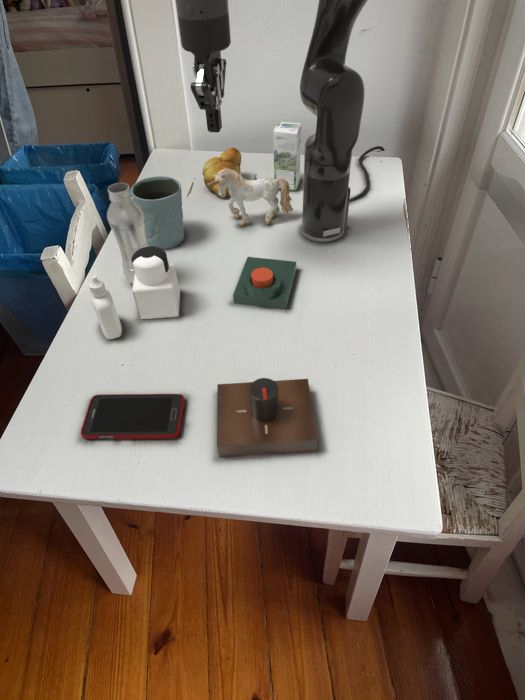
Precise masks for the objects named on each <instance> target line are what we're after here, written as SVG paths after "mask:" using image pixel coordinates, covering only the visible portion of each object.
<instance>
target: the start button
mask: <svg viewBox="0 0 525 700" xmlns="http://www.w3.org/2000/svg"><path fill="white" fill-rule="evenodd" d="M251 278H252V284H253V286H255V287H257V288H266V287H270V286H271V285H272V284H273V272H272V271H271V270H270V269H268V268H257V269H255V270H254V271H253V272H252V274H251Z"/></svg>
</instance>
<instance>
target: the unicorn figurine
mask: <svg viewBox="0 0 525 700" xmlns="http://www.w3.org/2000/svg"><path fill="white" fill-rule="evenodd" d="M212 176H213V177H215V178H216V179H215V181H213V182H211V183H208V185H213V184H216V185H217V186H218V188H219V195H218V196H219V197H221V198H225V197H226V196H225V195H226V192H225V190H226V187H227V186H228V188H229V194H230V195H229V197H230V198H229V200H228V203H227V206H228V208H229V210H230V212H231V214H232V215H233V216H234V217H235V218H236V219H240V213H241V215H242V217H241V220H240V221H239V223H238V226H240V227H244V226H245V225H246V223H247V224H250V221H249V220H250V215H249V214H248V213H247V212H246V208H245V205H244V202H256V201H258V200H260V199H264V200H265V201H266V202H267V203H268V205H269V206H270V209H269V210H268V211H267V213H266V214H264V215H265V216H264V219H265V220H264V221H265V224H266V225H269V224H270V223H271V222H272V220H271V219H272V218H274V217H275V216H276V215H278V214H279V213H280V208H281V211H283V212H284V214H286V215H288V214H289V213H290V212H293V211H294V208H293V207H292V206H293V205H291V201H293V199H292V198H291V196H290V193H291V190H290V187H289V183H288V182H287V181H286V180H285V179H283V178H278V179H274V177H262V178H258V179H253V180H249V179H246V178H244V177H243V175H242V174H241V173H240V174H239V173H237V172H235V171H234V170H230V169H228V168H225V169H223V170H221V171H219V172H218V173H217V175H212ZM279 185H280V186H281V189H279ZM279 190H280V200H279V198H278V197H277V196H278V194H279ZM234 203H236V204H237V206H238V207H234ZM279 205H280V206H281V207H280V206H279Z"/></svg>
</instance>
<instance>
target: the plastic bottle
mask: <svg viewBox="0 0 525 700" xmlns="http://www.w3.org/2000/svg"><path fill="white" fill-rule="evenodd" d="M107 193H108V199H109V201H110V204H109V206H108V208H107V211H106V220H107V222H108V225H109V226H110V229H111V231H112V233H113V235H114V237H115V240H116V242H117V244H118V248H119V251H120V256H121V260H122V272H123V275H124V277H125V279H126V281H127V282H128V283H130V284H131V285H133V282H134V276H135V272H134V268H133V265H132V261H131V258H132V256H133V254H134V253H135V252H136V251H137V250H139V249H141V248H144V247H149V244H148V240H147V235H146V228H145V216H144V212H143V210H142V208H141V207H140V205H139V204H138V203H137V202H135V201H134V200H133V198H132V193H131V187H130V185H129V184H128V183H126V182H115V183H113V184H111V185H109V186H108V187H107Z"/></svg>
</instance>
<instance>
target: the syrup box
mask: <svg viewBox="0 0 525 700" xmlns="http://www.w3.org/2000/svg"><path fill="white" fill-rule="evenodd" d="M272 133H273V134H272V137H273V142H272V143H273V179H278V178H283V179H285V180H286V181H287V182H288V183H289V187H290V190H289V191H293V192H295V191H297V189H298V187H299V184H300V181H301V150H302V149H301V148H302V147H301V146H302V123H301V122H291V121H290V122H289V121H277V123H276V124H275V126H274V129H273V132H272ZM279 190H281V186H280V185H279Z"/></svg>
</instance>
